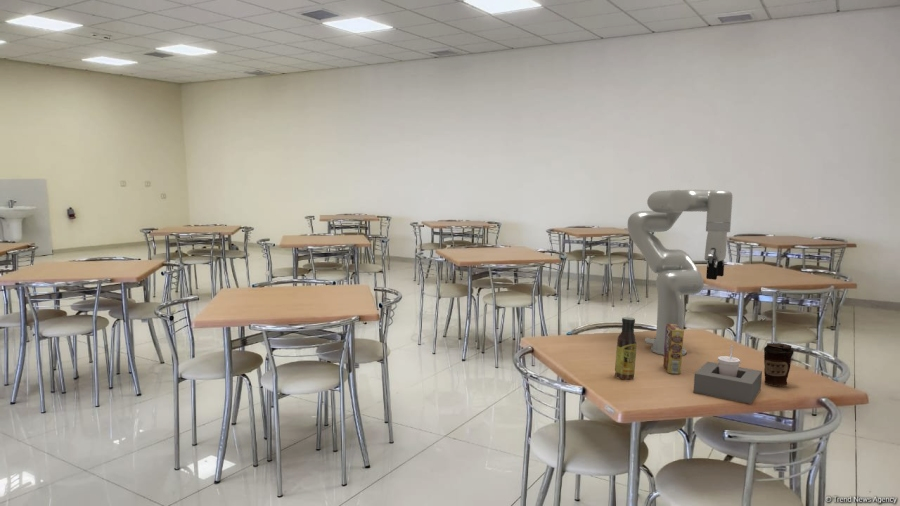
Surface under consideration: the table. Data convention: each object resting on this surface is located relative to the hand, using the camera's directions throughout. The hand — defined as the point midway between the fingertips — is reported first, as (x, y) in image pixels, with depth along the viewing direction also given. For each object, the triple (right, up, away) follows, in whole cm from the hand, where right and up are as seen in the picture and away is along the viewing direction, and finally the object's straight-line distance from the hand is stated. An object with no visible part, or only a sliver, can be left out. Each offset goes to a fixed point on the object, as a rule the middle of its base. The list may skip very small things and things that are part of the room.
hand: (714, 277), depth 203 cm
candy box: (-14, -32, +2) cm, 35 cm away
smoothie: (-4, -34, -18) cm, 39 cm away
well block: (-4, -34, -18) cm, 39 cm away
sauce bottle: (-33, -33, -6) cm, 47 cm away
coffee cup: (+15, -34, -11) cm, 39 cm away
